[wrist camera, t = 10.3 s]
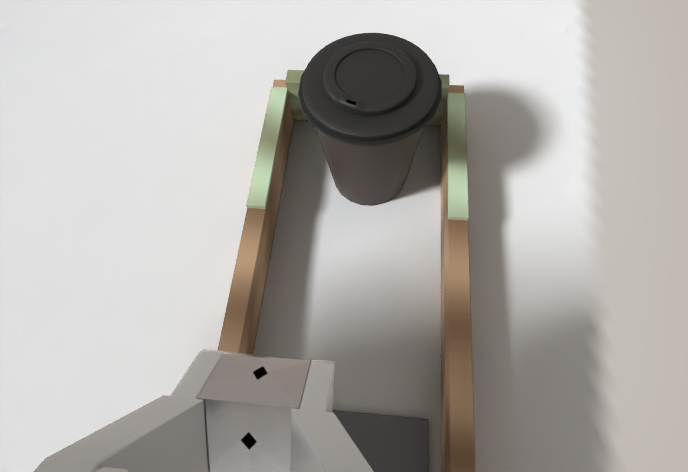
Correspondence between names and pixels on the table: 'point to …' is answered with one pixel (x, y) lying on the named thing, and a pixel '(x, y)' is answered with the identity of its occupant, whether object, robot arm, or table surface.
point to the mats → (388, 440)
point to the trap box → (453, 256)
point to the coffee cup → (370, 110)
